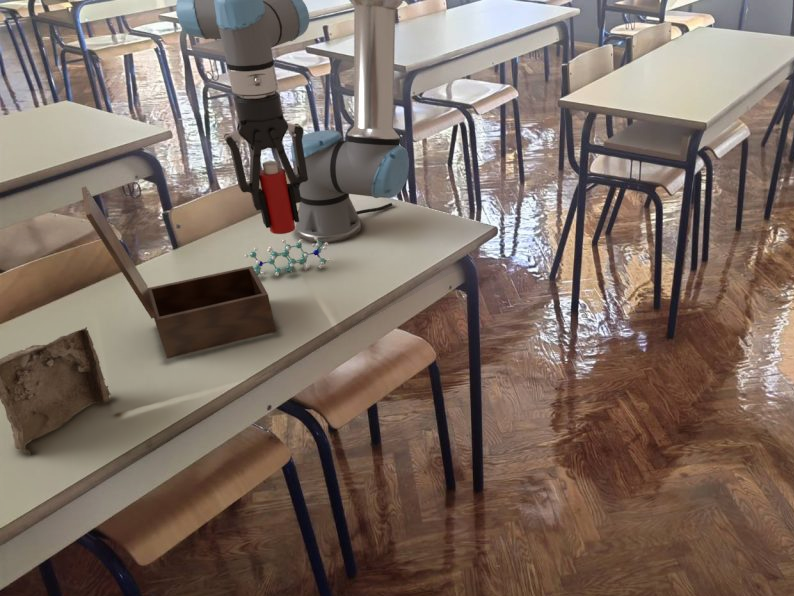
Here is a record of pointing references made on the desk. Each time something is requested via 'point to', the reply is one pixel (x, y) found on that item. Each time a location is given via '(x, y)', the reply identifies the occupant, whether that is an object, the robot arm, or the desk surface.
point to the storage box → (211, 311)
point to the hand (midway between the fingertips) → (281, 221)
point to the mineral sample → (50, 385)
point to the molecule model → (291, 261)
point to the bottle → (277, 198)
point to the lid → (117, 251)
